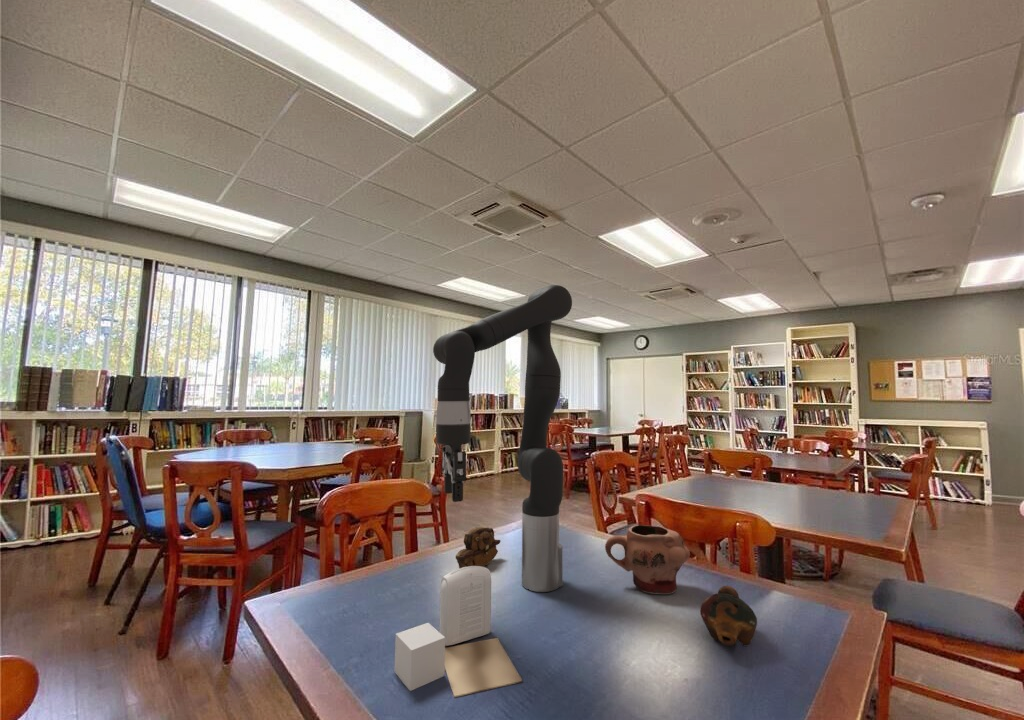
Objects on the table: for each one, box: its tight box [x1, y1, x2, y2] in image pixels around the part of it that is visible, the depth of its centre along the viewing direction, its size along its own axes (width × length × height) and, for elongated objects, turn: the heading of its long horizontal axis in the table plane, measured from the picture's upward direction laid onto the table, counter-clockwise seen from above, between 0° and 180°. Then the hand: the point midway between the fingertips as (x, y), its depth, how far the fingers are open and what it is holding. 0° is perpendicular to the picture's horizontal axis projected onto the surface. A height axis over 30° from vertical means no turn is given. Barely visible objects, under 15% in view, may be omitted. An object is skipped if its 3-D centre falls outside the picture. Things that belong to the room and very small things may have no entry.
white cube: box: [393, 622, 446, 692], centre depth 69 cm, size 6×6×6 cm
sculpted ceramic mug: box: [604, 524, 691, 595], centre depth 103 cm, size 20×12×14 cm, turn 89°
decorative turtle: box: [699, 585, 758, 647], centre depth 80 cm, size 10×15×8 cm, turn 156°
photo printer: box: [438, 566, 492, 647], centre depth 81 cm, size 10×4×12 cm, turn 123°
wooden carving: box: [455, 526, 501, 569], centre depth 115 cm, size 16×5×10 cm, turn 148°
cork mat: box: [444, 637, 523, 698], centre depth 71 cm, size 11×13×1 cm
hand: (453, 496), depth 92 cm, fingers open, 8 cm apart
